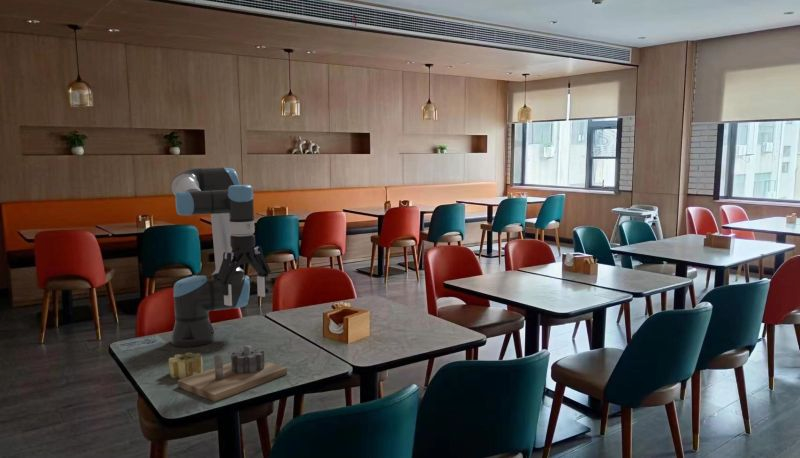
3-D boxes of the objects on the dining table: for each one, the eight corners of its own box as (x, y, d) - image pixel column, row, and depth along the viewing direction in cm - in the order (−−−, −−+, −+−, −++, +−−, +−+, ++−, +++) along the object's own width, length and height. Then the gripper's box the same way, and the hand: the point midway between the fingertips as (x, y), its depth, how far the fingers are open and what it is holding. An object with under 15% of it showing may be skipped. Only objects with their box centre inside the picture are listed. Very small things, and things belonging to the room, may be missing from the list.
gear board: (177, 386, 176) (176, 357, 175) (249, 362, 196) (248, 335, 195) (215, 401, 165) (213, 370, 164) (286, 373, 186) (285, 345, 184)
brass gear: (163, 374, 186) (162, 358, 186) (191, 365, 194) (190, 350, 193) (181, 381, 181) (180, 365, 180) (208, 371, 188) (208, 356, 187)
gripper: (217, 240, 176) (221, 311, 179) (280, 230, 197) (282, 294, 199) (201, 238, 181) (205, 307, 183) (264, 229, 201) (266, 291, 204)
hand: (245, 300), depth 191 cm, fingers open, 13 cm apart
